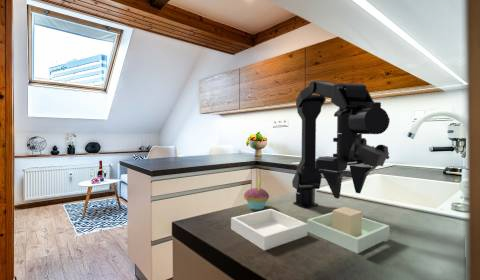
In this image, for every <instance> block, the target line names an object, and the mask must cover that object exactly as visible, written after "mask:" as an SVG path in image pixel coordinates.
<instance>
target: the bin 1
mask: <svg viewBox="0 0 480 280" xmlns="http://www.w3.org/2000/svg"><path fill="white" fill-rule="evenodd" d="M230 229H231V230H232V231H234V232H235V233H236V234H238V235H239V236H241V237H243V238H244V239H246V240H247V241H249V242H251V243H252V244H253V245H255V246H257V247H258V248H260V249H261V250H263V251H267V250H271V249H273V248H276V247H279V246H282V245H284V244H287V243H290V242H293V241H296V240H298V239H299V240H300V239H301V238H304V237H307V236H308V233H309V232H308V224H307V222H304V221H303V220H300V219H297V218H294V217H293V216H291V215H287V214H285V213H283V212H280V211H278V210H275V209H273V208H268V209H264V210H263V209H262V210H259V211H258V210H257V211H255V212H254V211H253V212H249V213H246V214H242V215H238V216H232V217H230Z"/></svg>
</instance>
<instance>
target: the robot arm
mask: <svg viewBox="0 0 480 280" xmlns="http://www.w3.org/2000/svg"><path fill="white" fill-rule="evenodd" d="M326 98H328V99H330V102H331V104H333V105H334V106H336V107H338V109H337V111H335V112H334V114H333V117H337V121H336V137H333V138H332V139H333V140H332V142H334V143H336V153H333V154H332V156H318V157H316V156H317V155H316V153H317V151H316V147H317V145H316V143H317V142H316V141H317V140H316V139H317V137H316V135H317V119H318V117H319V115H320V114H321V112H322V107H323V106H324V104H325V102H326ZM295 107H296V110H297V114H298V116H299V117H300V119H301V160H300V161H299V163H298V165H297V166H296V173H295V174H294V177H293V179H292V181H291V182H292V183H291V185H292V188H294V189H296V192H295V201H294V202H292V203H293V204H294V205H296V206H299V207H302V208H305V209H308V208H312V207H317V206H319V203H317V202H315V201H316V200H315V199H316V195H315V193H316V190H319V189H320V188H321V183H322V175H323V177H324V179H325V181H326V182H327V184H328V187H329V188H330V191H331V193H332V195H333V198H334V199H340V196H341V189H342V182H343V181H342V180H343V178H344V176H345V175H346V174H347V173H348V171H346V169H347V168H348V166H349V170H350V175H351V178H352V179H351V180H352V182H353V188H354V191H355V194H361V192H362V189H363V187H364V184H365V182H366V179H367V176H368V175H369V173H371V172H372V171H374V170H376V168H377V167H383V166H384V165H385V163H386V160H389V159H390V156H389V155H390V152H389V147H388V146H386V145H384V144H378V145H376V146H374V145H373V146H372V145H369V144H367V141H368V140H367V139H366V137H363V135H380V134H383V133H385V131H387V129H388V128H389V126H390V117H389V114H388V113H387V111H386V110H385V109H383V108H382V103H381V102H380V101H379V102H377V101H376V102H375V101H374V100H373V98H372V96H371V94H370V93H369V90H368V89H367V85H366V84H365V83H342V82H341V83H340V82H338V83H334V82H328V81H326V80H313V81H310V82H309V85H308V86H307V87H305V88H304V89H302V90H300V92H299V94H298V95H297V97H296V101H295ZM316 158H317V159H316ZM293 204H292V205H293Z"/></svg>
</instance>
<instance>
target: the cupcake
mask: <svg viewBox="0 0 480 280" xmlns="http://www.w3.org/2000/svg"><path fill="white" fill-rule="evenodd" d="M261 181H262V175H261V174H260V176H259V178H258V186H257V188H256V187H255V188H254V187H253V188H250V189H248V190H246V191H245V192H244V194H243V198H244V200H246V201H247V204H248V207H249V209H251V210H257V211H258V210H259V211H261V210H263V209H264V208H265V206H266V204H267V202H268V200H269V199H270V198H269V197H270V195H269V192H267V190H265V189H264V188H261Z"/></svg>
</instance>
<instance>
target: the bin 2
mask: <svg viewBox="0 0 480 280" xmlns="http://www.w3.org/2000/svg"><path fill="white" fill-rule="evenodd" d="M332 220H333V211H332V212H328V213H325V214H322V215H318V216H315V217H311V218H308V219H306V223H307V224H308V232H307V233H309V234H311V235H314V236H317V237H320V239H324V240H326V241H327V242H330V243H332V244H335V245H337V246H339V247H341V248H344V249H347V250H348V251H351V252H353V253H355V254H360V253H363V252H364V251H365V250H368V249H370V248H372V247H374V246H376V245H378V244H380V243H382V242H386V243H387V242H388V241H390V228H391V227H390V225H389V224H385V223H382V222H378V221H375V220H373V219H369V218H365V217H362V235H361V236H359V237H354V236H351V235H349V234H346V233H344V232H341V231H338V230H336V229H333V228H332Z"/></svg>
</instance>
